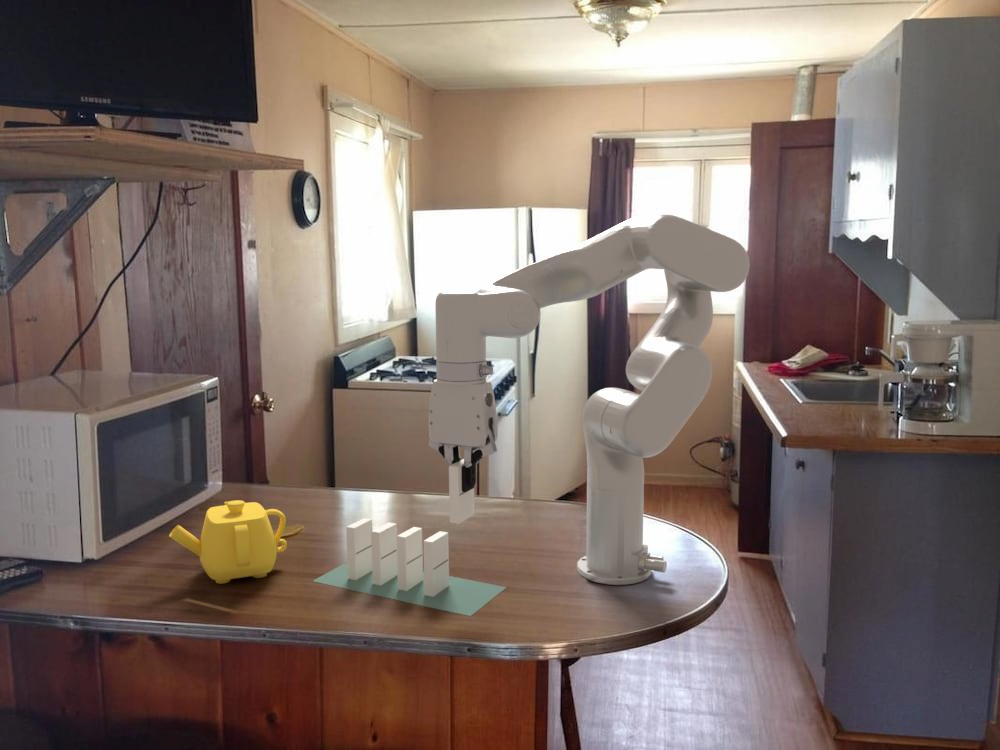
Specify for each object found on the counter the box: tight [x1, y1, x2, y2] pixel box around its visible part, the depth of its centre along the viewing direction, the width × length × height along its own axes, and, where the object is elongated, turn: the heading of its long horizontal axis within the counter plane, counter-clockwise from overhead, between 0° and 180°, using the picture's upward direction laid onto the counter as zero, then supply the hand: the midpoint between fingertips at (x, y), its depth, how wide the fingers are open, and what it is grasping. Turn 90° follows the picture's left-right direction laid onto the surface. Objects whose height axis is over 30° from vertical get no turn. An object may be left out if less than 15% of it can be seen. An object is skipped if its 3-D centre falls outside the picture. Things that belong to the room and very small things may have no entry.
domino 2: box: [371, 521, 398, 586], centre depth 142 cm, size 2×5×9 cm, turn 153°
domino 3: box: [397, 526, 424, 591], centre depth 139 cm, size 2×5×9 cm, turn 153°
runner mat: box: [312, 561, 507, 617], centre depth 140 cm, size 30×12×1 cm, turn 63°
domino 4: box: [422, 530, 450, 597], centre depth 137 cm, size 2×5×9 cm, turn 153°
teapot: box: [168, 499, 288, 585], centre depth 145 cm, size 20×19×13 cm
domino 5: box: [448, 458, 476, 525], centre depth 133 cm, size 2×5×9 cm, turn 153°
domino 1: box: [346, 517, 373, 580], centre depth 144 cm, size 2×5×9 cm, turn 153°
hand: (462, 488), depth 133 cm, fingers closed on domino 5, 1 cm apart
